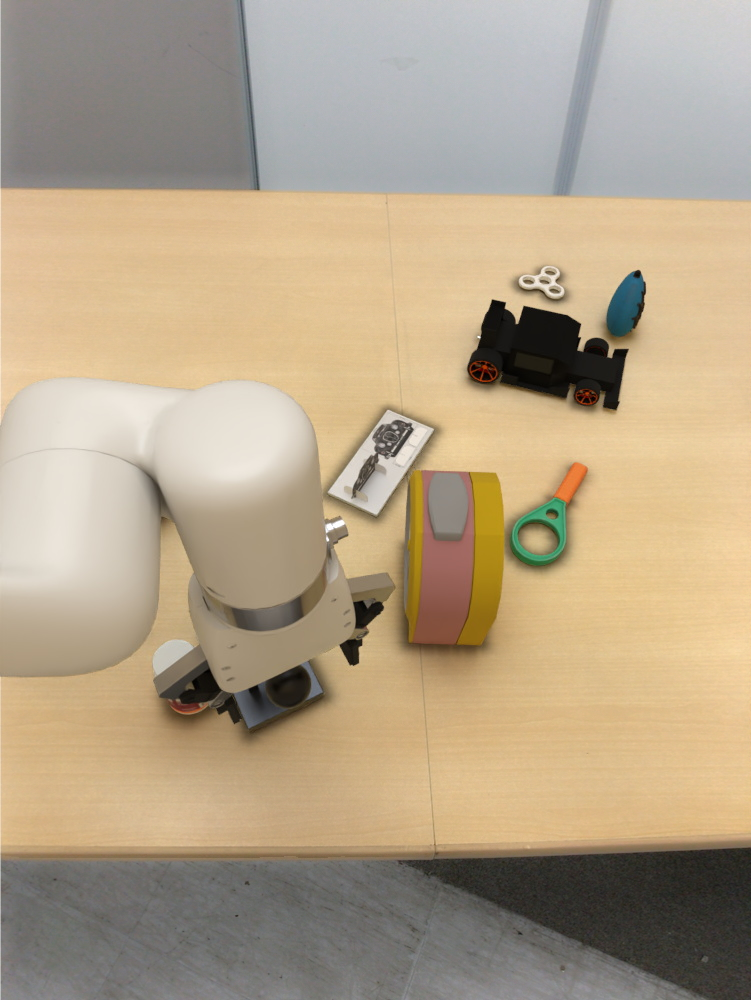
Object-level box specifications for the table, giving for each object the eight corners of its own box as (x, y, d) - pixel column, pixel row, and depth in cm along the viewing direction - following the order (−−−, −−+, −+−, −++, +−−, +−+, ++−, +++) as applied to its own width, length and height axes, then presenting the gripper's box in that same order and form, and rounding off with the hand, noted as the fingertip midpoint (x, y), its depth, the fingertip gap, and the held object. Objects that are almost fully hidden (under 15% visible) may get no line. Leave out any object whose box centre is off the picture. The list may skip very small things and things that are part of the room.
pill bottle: (162, 680, 74) (141, 646, 67) (208, 662, 76) (192, 627, 69) (174, 723, 72) (154, 692, 65) (221, 704, 73) (207, 672, 66)
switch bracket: (324, 696, 74) (318, 643, 63) (249, 733, 71) (230, 684, 61) (280, 607, 79) (268, 545, 69) (209, 639, 77) (185, 579, 66)
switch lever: (322, 705, 58) (311, 671, 56) (280, 725, 57) (267, 692, 55) (272, 619, 69) (261, 588, 67) (235, 635, 68) (223, 604, 66)
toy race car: (614, 415, 96) (631, 374, 90) (464, 379, 99) (470, 338, 93) (624, 360, 101) (640, 319, 95) (481, 328, 105) (488, 286, 99)
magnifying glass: (548, 575, 82) (552, 568, 81) (499, 550, 84) (502, 542, 82) (601, 483, 89) (605, 474, 88) (555, 461, 91) (558, 452, 90)
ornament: (630, 352, 102) (653, 294, 94) (596, 343, 103) (616, 285, 95) (639, 314, 107) (661, 256, 99) (607, 306, 108) (627, 248, 100)
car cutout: (376, 517, 86) (377, 495, 82) (327, 494, 88) (326, 471, 84) (433, 431, 94) (436, 407, 90) (387, 411, 95) (388, 387, 92)
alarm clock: (403, 535, 85) (411, 431, 70) (474, 538, 85) (499, 434, 70) (401, 658, 76) (411, 570, 61) (481, 661, 76) (511, 573, 61)
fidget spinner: (551, 267, 112) (552, 262, 112) (578, 291, 109) (579, 286, 109) (514, 282, 110) (515, 277, 110) (541, 307, 107) (542, 302, 107)
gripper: (367, 464, 47) (367, 591, 61) (97, 575, 42) (165, 684, 56) (426, 555, 43) (412, 668, 57) (137, 687, 38) (199, 775, 53)
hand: (289, 676), depth 57 cm, fingers open, 9 cm apart
